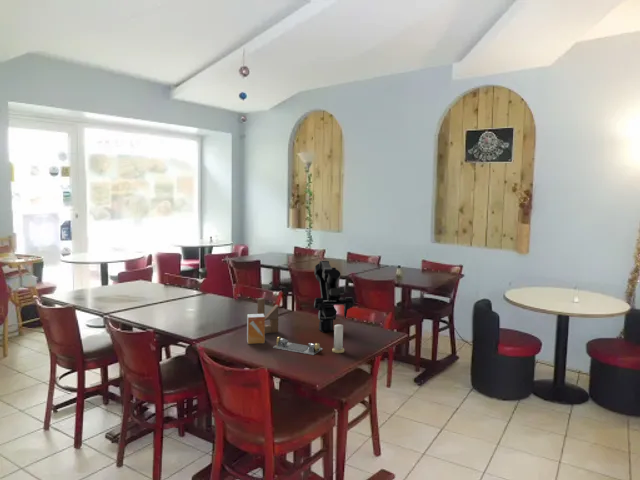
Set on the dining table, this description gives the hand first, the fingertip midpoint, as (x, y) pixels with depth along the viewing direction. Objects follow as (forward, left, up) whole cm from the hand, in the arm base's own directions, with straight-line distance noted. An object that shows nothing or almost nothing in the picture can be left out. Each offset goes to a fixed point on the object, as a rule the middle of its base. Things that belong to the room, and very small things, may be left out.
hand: (335, 318), depth 221 cm
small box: (+33, -20, -14) cm, 41 cm away
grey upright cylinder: (+2, +7, -13) cm, 15 cm away
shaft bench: (+18, -3, -13) cm, 23 cm away
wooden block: (+23, -33, -14) cm, 42 cm away
